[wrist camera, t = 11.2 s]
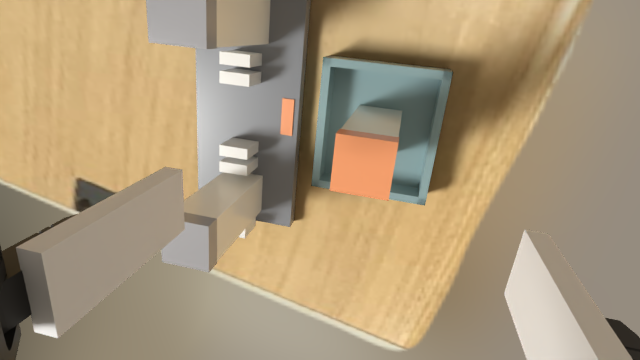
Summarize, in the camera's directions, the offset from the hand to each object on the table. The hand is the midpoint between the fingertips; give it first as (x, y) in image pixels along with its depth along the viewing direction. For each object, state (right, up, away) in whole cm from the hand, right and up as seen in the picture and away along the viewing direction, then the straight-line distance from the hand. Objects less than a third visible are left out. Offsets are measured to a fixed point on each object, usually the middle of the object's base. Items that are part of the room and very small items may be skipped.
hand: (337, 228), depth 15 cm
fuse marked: (+4, +6, +17) cm, 18 cm away
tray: (+4, +6, +17) cm, 19 cm away
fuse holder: (-7, +8, +19) cm, 22 cm away
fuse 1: (-6, +14, +15) cm, 22 cm away
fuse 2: (-8, +1, +20) cm, 22 cm away
